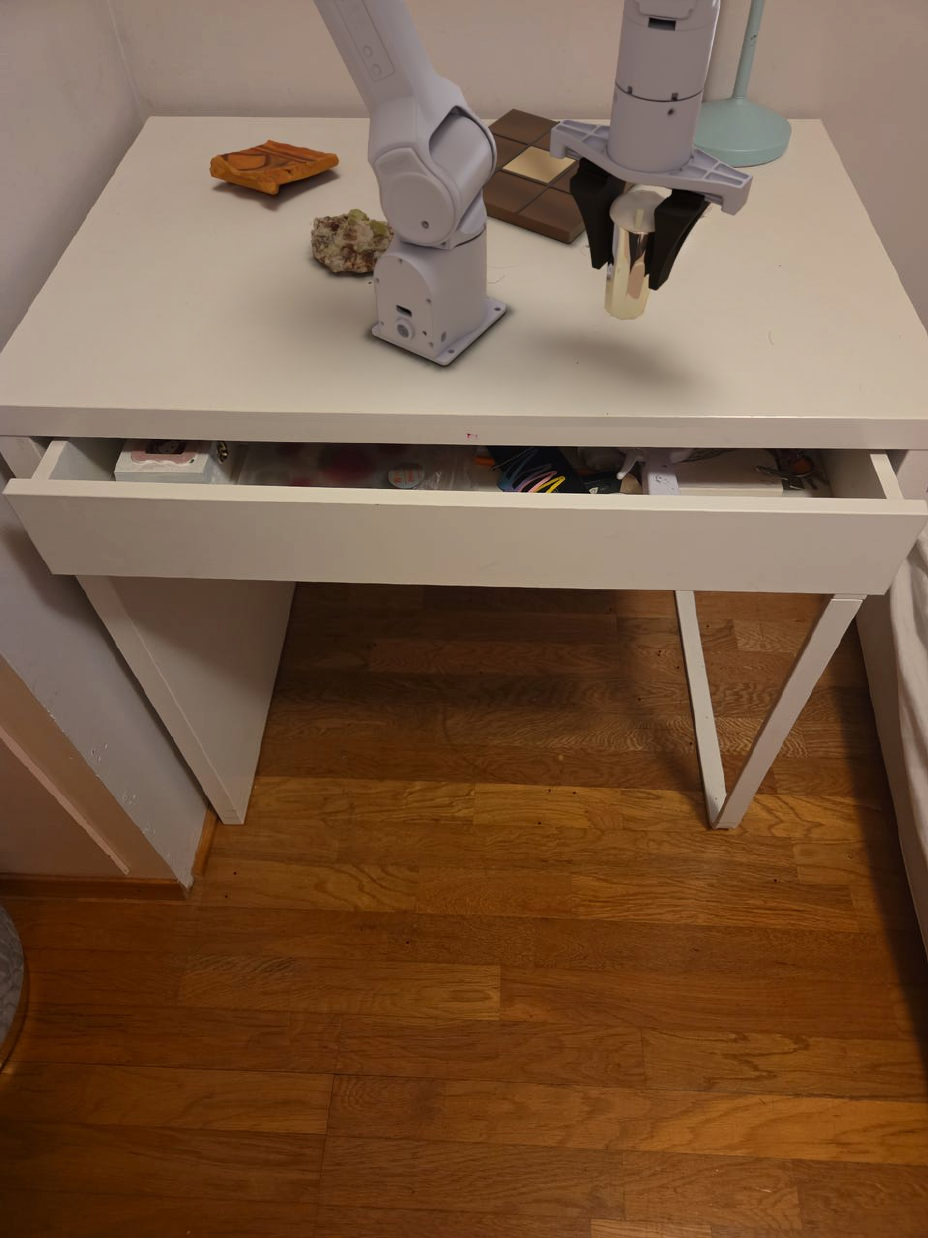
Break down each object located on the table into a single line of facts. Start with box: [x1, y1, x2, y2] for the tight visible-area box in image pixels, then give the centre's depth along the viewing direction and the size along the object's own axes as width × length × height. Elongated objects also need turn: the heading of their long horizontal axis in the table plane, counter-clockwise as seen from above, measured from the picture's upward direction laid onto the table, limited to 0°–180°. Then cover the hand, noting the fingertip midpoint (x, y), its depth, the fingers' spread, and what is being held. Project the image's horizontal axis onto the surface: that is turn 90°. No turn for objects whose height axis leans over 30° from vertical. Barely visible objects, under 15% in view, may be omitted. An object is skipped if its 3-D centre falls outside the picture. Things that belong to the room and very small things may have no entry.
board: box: [482, 108, 636, 244], centre depth 91 cm, size 18×18×1 cm
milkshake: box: [603, 189, 666, 321], centre depth 66 cm, size 5×5×10 cm
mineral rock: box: [310, 208, 395, 274], centre depth 82 cm, size 11×4×8 cm
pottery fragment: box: [208, 139, 340, 196], centre depth 90 cm, size 10×5×10 cm
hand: (630, 272), depth 68 cm, fingers closed on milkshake, 4 cm apart
